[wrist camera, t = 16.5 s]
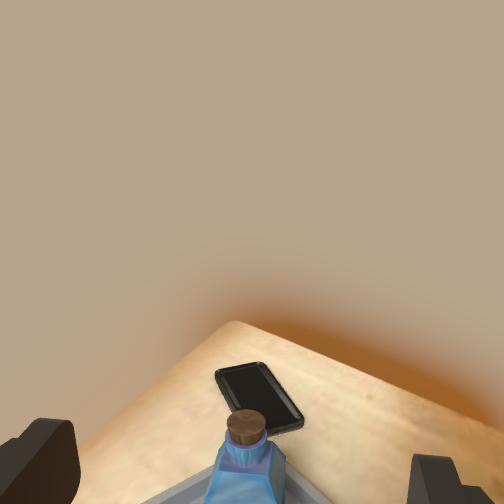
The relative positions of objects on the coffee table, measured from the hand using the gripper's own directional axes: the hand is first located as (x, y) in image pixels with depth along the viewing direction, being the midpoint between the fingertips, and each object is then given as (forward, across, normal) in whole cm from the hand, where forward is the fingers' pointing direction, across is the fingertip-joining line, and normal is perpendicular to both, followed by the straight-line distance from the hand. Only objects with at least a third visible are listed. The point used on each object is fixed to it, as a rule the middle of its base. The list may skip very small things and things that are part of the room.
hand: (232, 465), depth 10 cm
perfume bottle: (+22, +4, +29) cm, 36 cm away
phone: (+42, +6, +30) cm, 52 cm away
